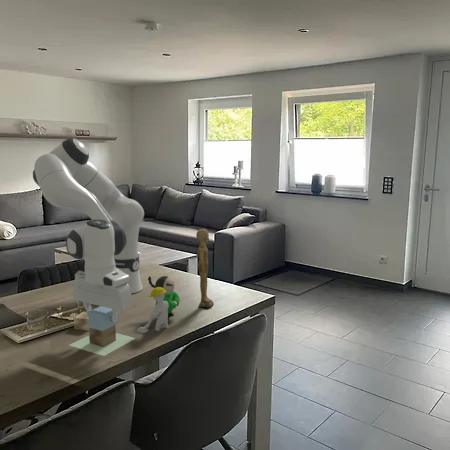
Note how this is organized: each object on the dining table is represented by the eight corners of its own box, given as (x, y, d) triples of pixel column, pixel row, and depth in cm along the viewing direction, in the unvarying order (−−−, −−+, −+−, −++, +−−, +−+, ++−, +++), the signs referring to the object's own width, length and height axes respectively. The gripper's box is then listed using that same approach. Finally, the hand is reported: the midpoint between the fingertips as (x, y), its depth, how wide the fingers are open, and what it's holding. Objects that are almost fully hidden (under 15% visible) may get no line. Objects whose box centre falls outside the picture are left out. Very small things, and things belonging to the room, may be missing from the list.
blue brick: (88, 327, 138) (88, 311, 137) (101, 321, 142) (101, 306, 142) (102, 331, 135) (102, 315, 134) (115, 324, 140) (114, 309, 139)
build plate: (68, 348, 137) (68, 345, 137) (102, 332, 149) (102, 329, 149) (103, 359, 131) (103, 355, 130) (135, 341, 143) (135, 338, 142)
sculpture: (210, 309, 171) (211, 230, 165) (194, 308, 172) (194, 229, 167) (214, 303, 177) (215, 227, 172) (198, 302, 178) (199, 226, 173)
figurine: (148, 323, 157) (147, 281, 154) (172, 327, 154) (172, 284, 151) (133, 335, 147) (132, 290, 144) (159, 339, 144) (158, 293, 142)
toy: (172, 323, 157) (171, 281, 154) (142, 319, 160) (141, 278, 158) (182, 313, 166) (182, 274, 163) (154, 310, 169) (154, 271, 167)
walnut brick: (89, 343, 139) (89, 327, 138) (102, 336, 143) (102, 321, 142) (103, 347, 136) (102, 331, 135) (115, 340, 141) (115, 324, 140)
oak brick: (74, 332, 149) (73, 317, 148) (83, 325, 154) (82, 311, 154) (89, 333, 148) (88, 319, 147) (98, 327, 153) (97, 313, 152)
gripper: (67, 272, 138) (69, 315, 141) (119, 282, 129) (120, 329, 131) (82, 267, 144) (84, 309, 146) (133, 277, 134) (134, 321, 136)
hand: (102, 318), depth 138 cm, fingers open, 8 cm apart
